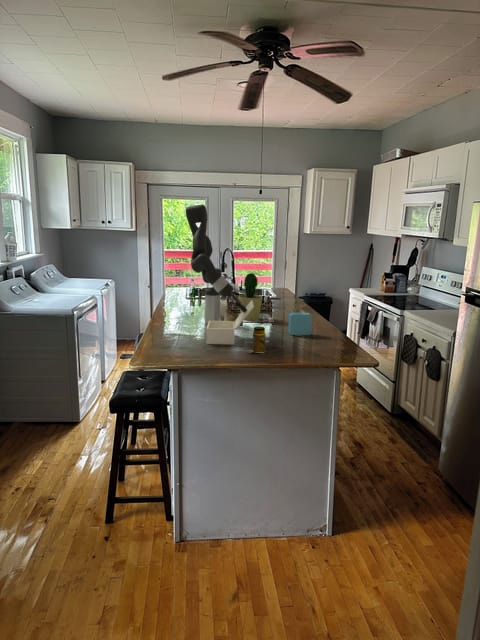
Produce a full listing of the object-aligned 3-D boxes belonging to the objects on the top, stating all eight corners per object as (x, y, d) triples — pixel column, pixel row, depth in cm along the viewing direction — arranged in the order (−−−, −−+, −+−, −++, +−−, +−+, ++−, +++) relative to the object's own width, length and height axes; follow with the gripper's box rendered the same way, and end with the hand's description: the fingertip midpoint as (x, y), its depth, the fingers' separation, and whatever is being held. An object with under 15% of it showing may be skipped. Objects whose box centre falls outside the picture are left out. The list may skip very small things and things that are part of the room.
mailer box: (206, 343, 226) (206, 328, 224) (208, 335, 243) (208, 320, 242) (234, 344, 226) (234, 329, 224) (234, 335, 244) (234, 321, 242)
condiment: (267, 353, 212) (268, 329, 209) (250, 354, 210) (250, 329, 207) (263, 349, 219) (263, 325, 216) (246, 350, 217) (246, 326, 214)
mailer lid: (253, 306, 222) (254, 307, 222) (251, 300, 240) (252, 300, 240) (235, 328, 224) (236, 329, 224) (235, 320, 242) (236, 321, 242)
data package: (309, 333, 252) (310, 312, 249) (311, 335, 247) (312, 314, 245) (288, 333, 251) (289, 312, 248) (289, 335, 246) (290, 314, 244)
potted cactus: (249, 322, 276) (250, 274, 269) (233, 318, 287) (233, 271, 280) (267, 319, 286) (268, 272, 279) (250, 315, 297) (251, 270, 290)
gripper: (227, 283, 222) (251, 308, 224) (228, 280, 235) (250, 304, 237) (216, 293, 223) (240, 318, 225) (218, 289, 236) (240, 313, 238)
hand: (245, 311), depth 231 cm, fingers closed
